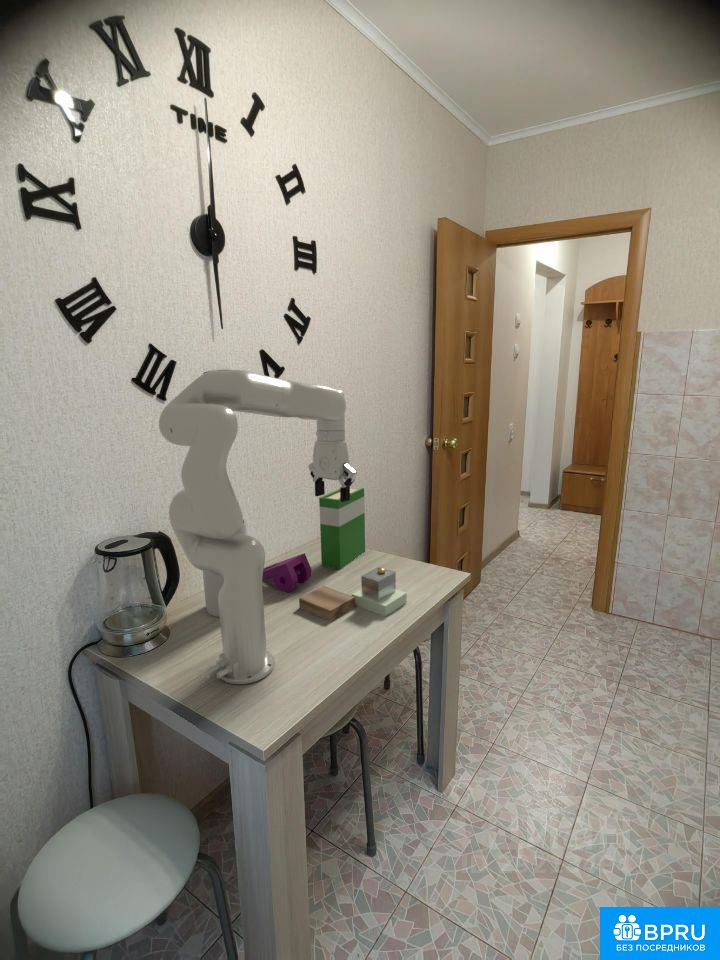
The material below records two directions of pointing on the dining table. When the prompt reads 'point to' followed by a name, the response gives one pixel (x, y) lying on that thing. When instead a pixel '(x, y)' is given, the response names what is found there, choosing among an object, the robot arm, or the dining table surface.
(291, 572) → the mounting bracket
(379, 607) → the stand
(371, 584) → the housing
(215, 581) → the cylinder vase
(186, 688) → the dining table surface
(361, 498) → the hardback book
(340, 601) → the stand
